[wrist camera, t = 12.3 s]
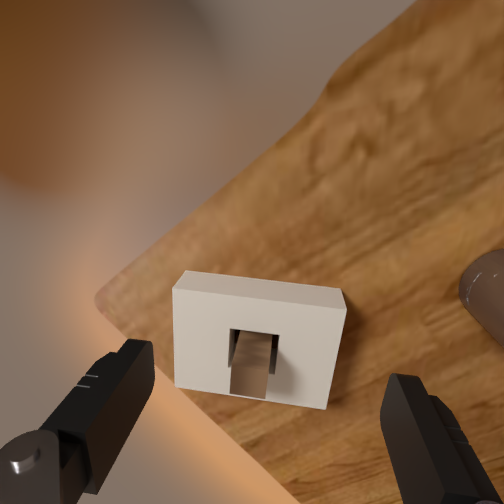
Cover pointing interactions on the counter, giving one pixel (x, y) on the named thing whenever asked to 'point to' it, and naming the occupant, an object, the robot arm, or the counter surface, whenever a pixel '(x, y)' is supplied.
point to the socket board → (258, 320)
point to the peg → (251, 364)
